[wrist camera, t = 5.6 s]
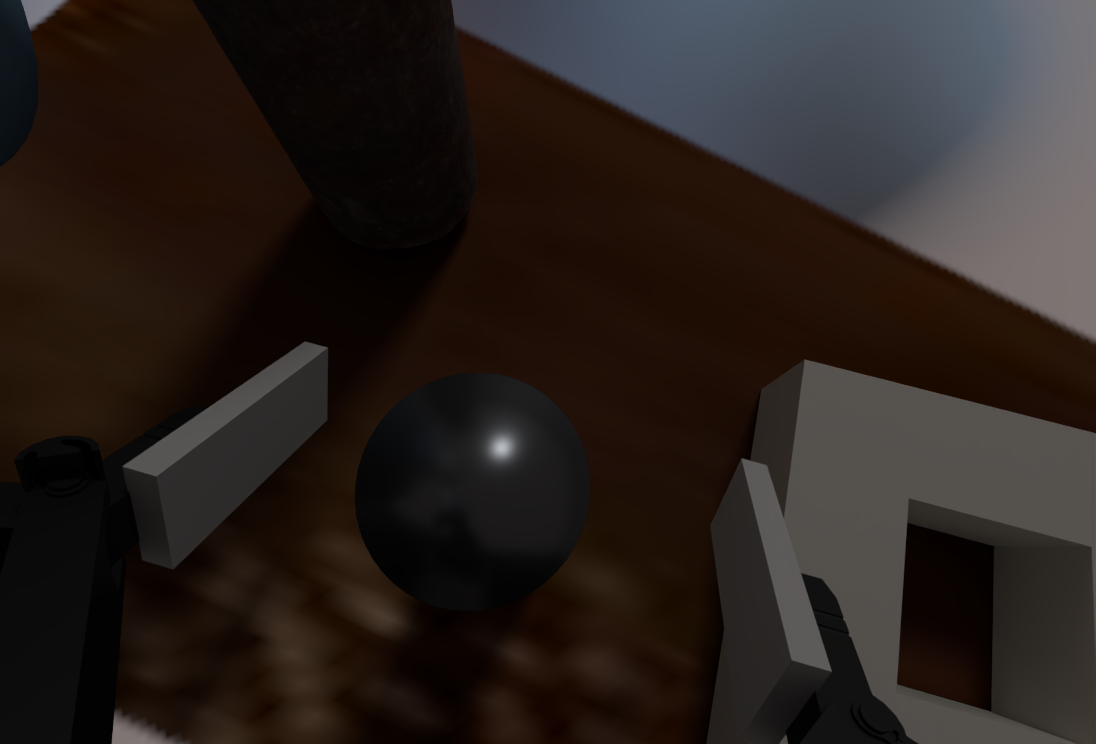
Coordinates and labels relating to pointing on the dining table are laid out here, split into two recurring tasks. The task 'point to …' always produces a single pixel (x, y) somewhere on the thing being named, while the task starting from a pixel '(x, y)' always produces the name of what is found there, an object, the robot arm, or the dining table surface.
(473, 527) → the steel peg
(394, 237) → the candle
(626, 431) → the dining table surface
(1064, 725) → the hole block
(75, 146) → the dining table surface
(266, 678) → the dining table surface
